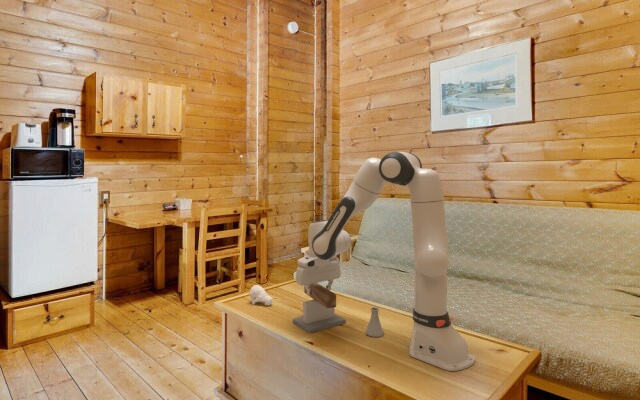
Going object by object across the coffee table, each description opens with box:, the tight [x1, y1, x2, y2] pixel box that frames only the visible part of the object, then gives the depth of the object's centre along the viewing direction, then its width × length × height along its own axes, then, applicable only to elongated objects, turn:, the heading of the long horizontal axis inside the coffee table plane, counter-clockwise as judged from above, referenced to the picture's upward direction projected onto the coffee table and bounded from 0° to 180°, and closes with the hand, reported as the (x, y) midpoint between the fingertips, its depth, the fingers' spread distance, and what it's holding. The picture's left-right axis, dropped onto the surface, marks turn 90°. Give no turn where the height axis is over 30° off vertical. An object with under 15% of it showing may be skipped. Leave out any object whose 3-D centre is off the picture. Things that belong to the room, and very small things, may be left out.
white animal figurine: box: [248, 284, 274, 306], centre depth 183 cm, size 6×8×12 cm
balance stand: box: [292, 298, 347, 334], centre depth 160 cm, size 13×18×10 cm
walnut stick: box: [303, 282, 337, 309], centre depth 159 cm, size 4×22×5 cm, turn 26°
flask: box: [365, 306, 385, 338], centre depth 149 cm, size 7×7×10 cm
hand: (319, 292), depth 159 cm, fingers open, 8 cm apart
